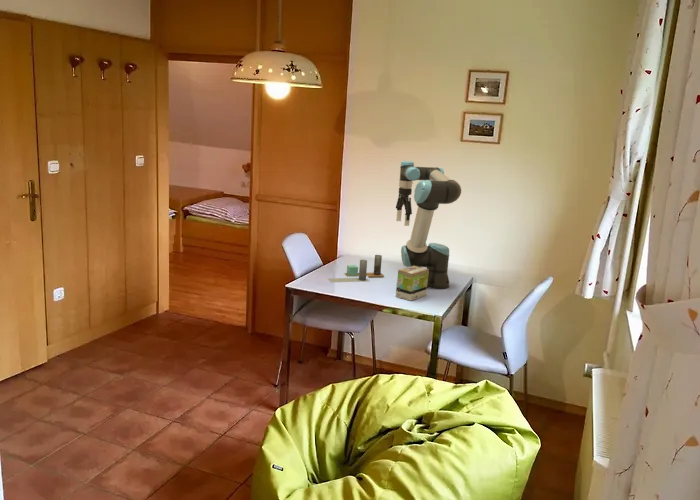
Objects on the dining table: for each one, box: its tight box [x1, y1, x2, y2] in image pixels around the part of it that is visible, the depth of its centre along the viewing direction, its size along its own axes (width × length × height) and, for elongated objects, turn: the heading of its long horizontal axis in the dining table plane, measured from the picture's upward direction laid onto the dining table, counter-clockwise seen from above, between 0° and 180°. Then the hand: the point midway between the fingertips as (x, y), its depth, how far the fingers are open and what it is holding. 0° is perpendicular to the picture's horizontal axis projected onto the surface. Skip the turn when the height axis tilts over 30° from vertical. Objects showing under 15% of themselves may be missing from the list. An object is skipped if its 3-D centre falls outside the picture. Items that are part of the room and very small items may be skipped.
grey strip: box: [327, 259, 370, 283], centre depth 339 cm, size 7×22×12 cm, turn 106°
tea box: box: [395, 266, 429, 302], centre depth 320 cm, size 15×10×15 cm, turn 141°
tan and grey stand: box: [343, 254, 385, 279], centre depth 351 cm, size 7×22×12 cm, turn 106°
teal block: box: [346, 264, 359, 277], centre depth 350 cm, size 5×5×5 cm
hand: (402, 223), depth 365 cm, fingers open, 13 cm apart
